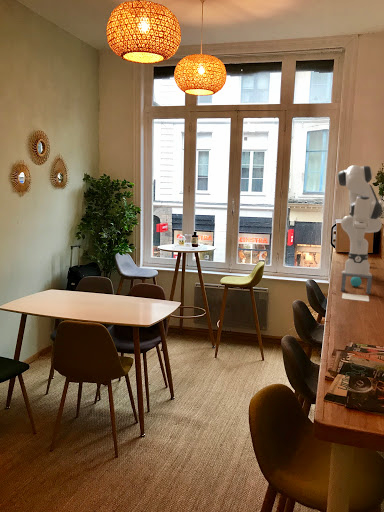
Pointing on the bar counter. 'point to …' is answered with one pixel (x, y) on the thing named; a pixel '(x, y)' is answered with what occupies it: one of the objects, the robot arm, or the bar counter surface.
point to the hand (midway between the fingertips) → (358, 247)
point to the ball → (356, 281)
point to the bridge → (357, 276)
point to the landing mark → (355, 297)
